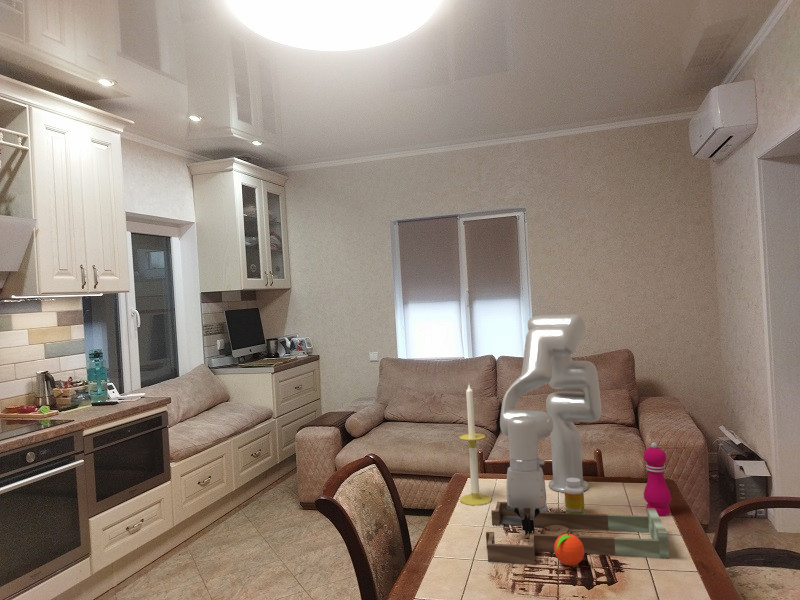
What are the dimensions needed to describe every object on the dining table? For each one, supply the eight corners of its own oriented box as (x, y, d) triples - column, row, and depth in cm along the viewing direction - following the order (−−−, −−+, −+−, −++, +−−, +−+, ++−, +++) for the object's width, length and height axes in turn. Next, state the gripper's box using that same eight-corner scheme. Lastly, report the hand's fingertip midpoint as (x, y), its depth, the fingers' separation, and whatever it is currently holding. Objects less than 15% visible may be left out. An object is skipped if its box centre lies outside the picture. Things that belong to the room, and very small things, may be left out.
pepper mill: (638, 510, 163) (634, 441, 163) (657, 505, 166) (653, 438, 166) (659, 518, 156) (654, 446, 157) (678, 513, 159) (673, 443, 159)
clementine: (570, 575, 127) (568, 544, 128) (545, 565, 133) (544, 535, 133) (591, 564, 132) (589, 534, 132) (567, 554, 138) (565, 525, 138)
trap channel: (494, 515, 166) (493, 494, 166) (651, 521, 155) (650, 499, 155) (483, 561, 137) (482, 536, 137) (675, 572, 126) (674, 545, 126)
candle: (470, 508, 173) (463, 386, 173) (454, 498, 182) (447, 383, 182) (497, 501, 177) (490, 382, 177) (480, 492, 186) (473, 379, 186)
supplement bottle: (585, 516, 161) (583, 482, 161) (566, 516, 162) (564, 482, 162) (583, 509, 166) (581, 476, 166) (564, 509, 167) (562, 476, 167)
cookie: (555, 529, 154) (554, 518, 154) (588, 541, 145) (587, 529, 145) (530, 539, 148) (530, 528, 148) (563, 552, 140) (562, 540, 140)
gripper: (553, 460, 151) (557, 528, 151) (497, 459, 155) (501, 526, 154) (553, 468, 143) (557, 540, 143) (494, 467, 147) (498, 537, 147)
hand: (528, 533), depth 149 cm, fingers closed
